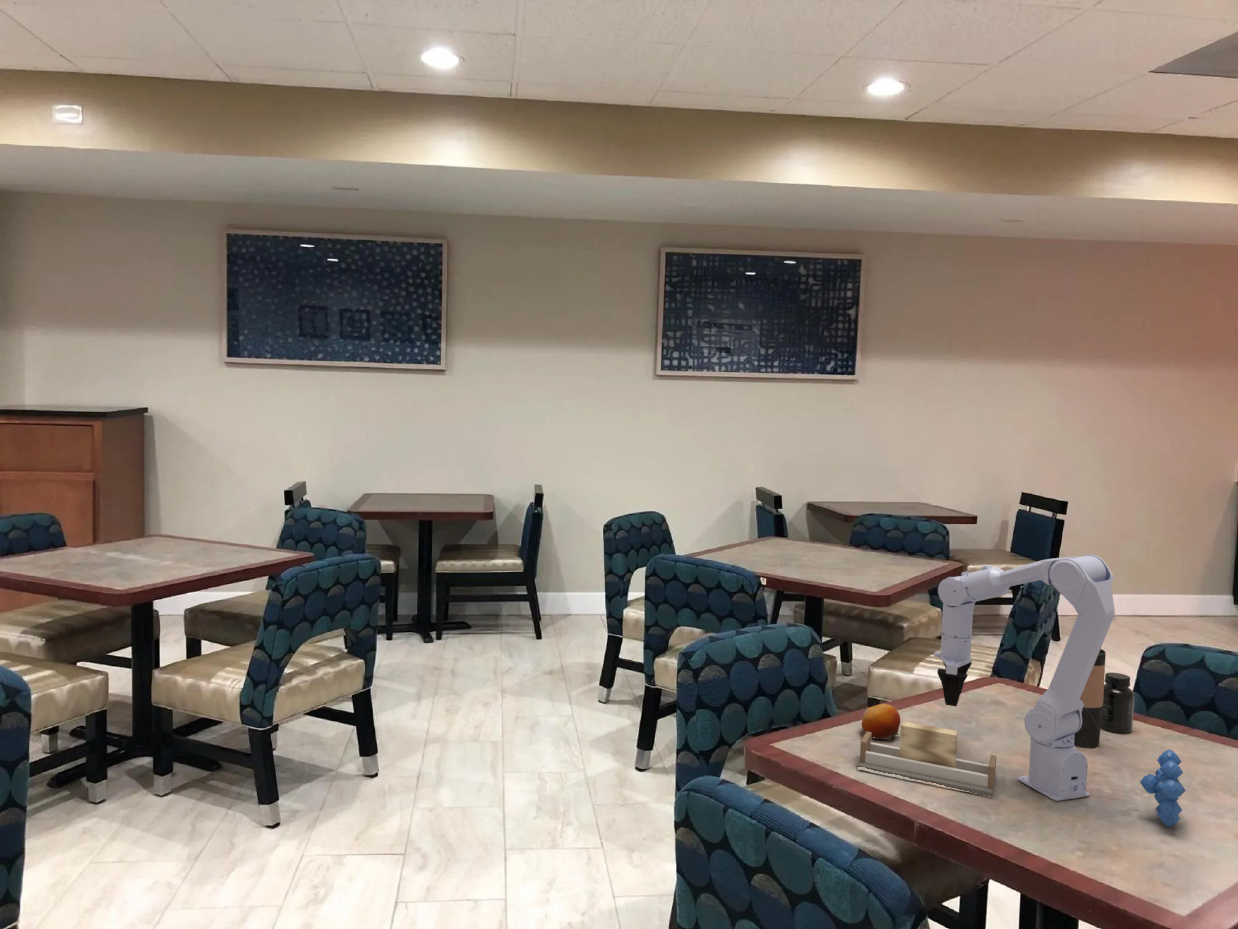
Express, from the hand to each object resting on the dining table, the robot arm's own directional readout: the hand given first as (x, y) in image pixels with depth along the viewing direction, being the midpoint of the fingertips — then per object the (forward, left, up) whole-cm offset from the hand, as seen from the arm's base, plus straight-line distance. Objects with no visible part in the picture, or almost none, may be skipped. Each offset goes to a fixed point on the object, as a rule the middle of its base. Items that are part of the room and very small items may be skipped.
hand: (953, 699), depth 179 cm
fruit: (+10, +10, -11) cm, 18 cm away
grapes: (-36, -15, -11) cm, 40 cm away
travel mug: (-4, -30, -11) cm, 32 cm away
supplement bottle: (0, -44, -11) cm, 45 cm away
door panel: (-9, +13, -9) cm, 18 cm away
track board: (-9, +13, -10) cm, 19 cm away
